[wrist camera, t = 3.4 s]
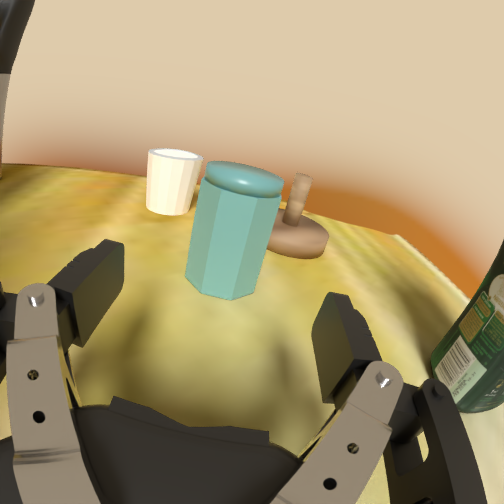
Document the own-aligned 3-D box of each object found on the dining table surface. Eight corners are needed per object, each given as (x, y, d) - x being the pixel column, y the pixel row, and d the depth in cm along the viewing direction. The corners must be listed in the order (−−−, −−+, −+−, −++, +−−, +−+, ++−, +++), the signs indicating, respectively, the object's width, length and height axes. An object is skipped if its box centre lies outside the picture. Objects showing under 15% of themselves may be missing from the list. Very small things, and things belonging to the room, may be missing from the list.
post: (228, 223, 34) (244, 159, 31) (281, 218, 41) (297, 166, 38) (289, 265, 28) (315, 190, 25) (337, 251, 35) (359, 193, 32)
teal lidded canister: (175, 266, 23) (192, 159, 19) (226, 255, 27) (248, 163, 23) (213, 306, 20) (241, 183, 16) (267, 288, 24) (299, 185, 20)
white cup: (201, 206, 37) (212, 156, 34) (179, 222, 31) (189, 162, 28) (158, 194, 38) (165, 146, 35) (130, 207, 32) (137, 150, 29)
